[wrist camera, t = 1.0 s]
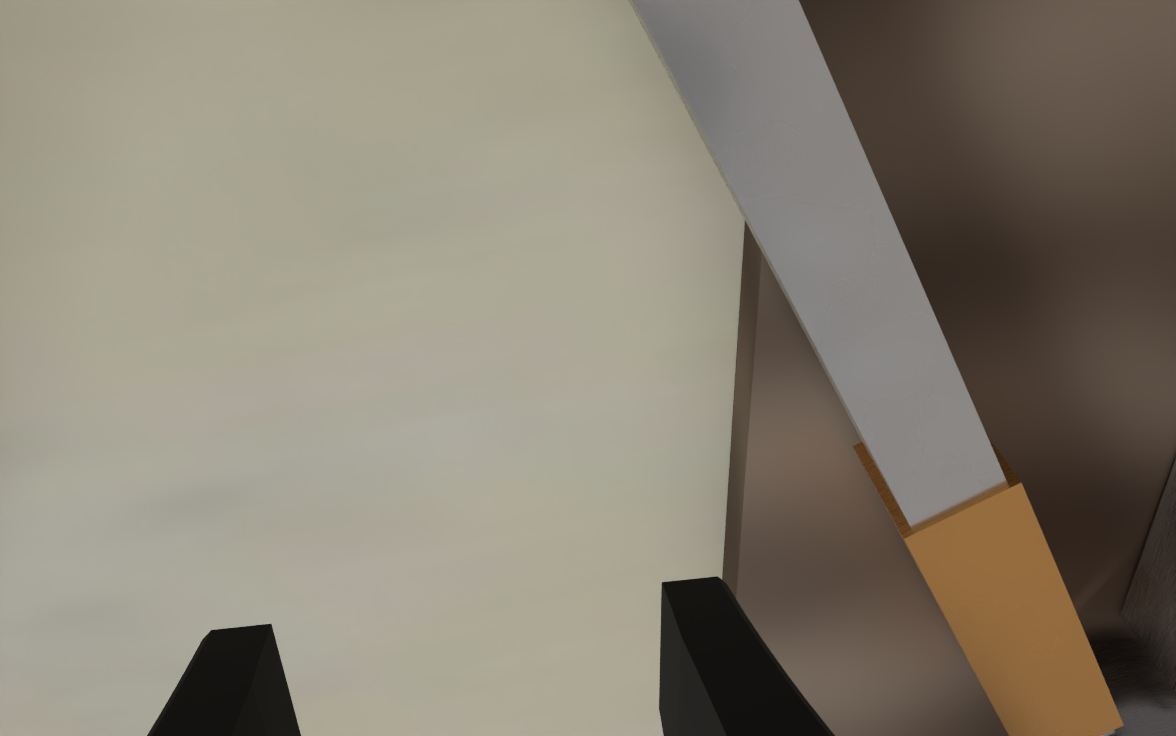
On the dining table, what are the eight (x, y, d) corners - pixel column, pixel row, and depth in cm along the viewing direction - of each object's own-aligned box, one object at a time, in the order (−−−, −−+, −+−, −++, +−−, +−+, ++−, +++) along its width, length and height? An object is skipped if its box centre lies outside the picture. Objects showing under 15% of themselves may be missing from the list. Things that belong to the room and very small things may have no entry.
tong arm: (1175, 695, 26) (1249, 796, 24) (1021, 761, 27) (1079, 866, 25) (759, -451, 13) (835, -483, 10) (475, -258, 14) (483, -246, 11)
